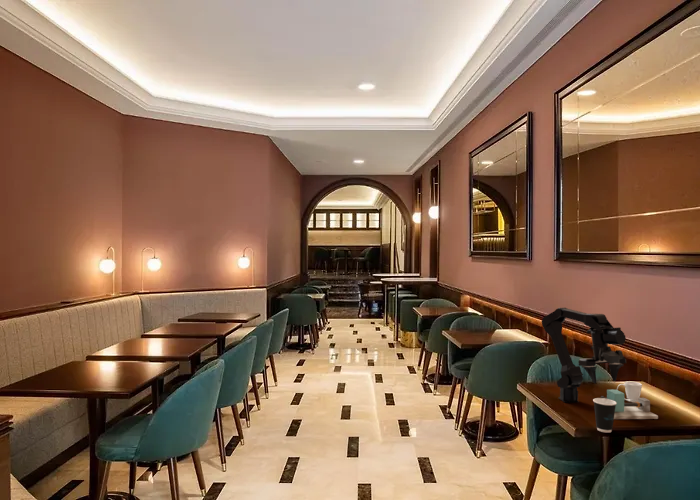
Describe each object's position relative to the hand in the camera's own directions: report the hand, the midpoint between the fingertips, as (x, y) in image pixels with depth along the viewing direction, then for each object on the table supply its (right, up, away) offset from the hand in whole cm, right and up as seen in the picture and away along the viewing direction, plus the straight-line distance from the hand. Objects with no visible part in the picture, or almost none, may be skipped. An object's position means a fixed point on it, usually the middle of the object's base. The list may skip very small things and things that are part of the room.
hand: (604, 382), depth 208 cm
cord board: (+9, -13, +1) cm, 16 cm away
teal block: (+5, -11, 0) cm, 12 cm away
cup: (+20, -13, +18) cm, 30 cm away
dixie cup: (-10, -13, -19) cm, 25 cm away
